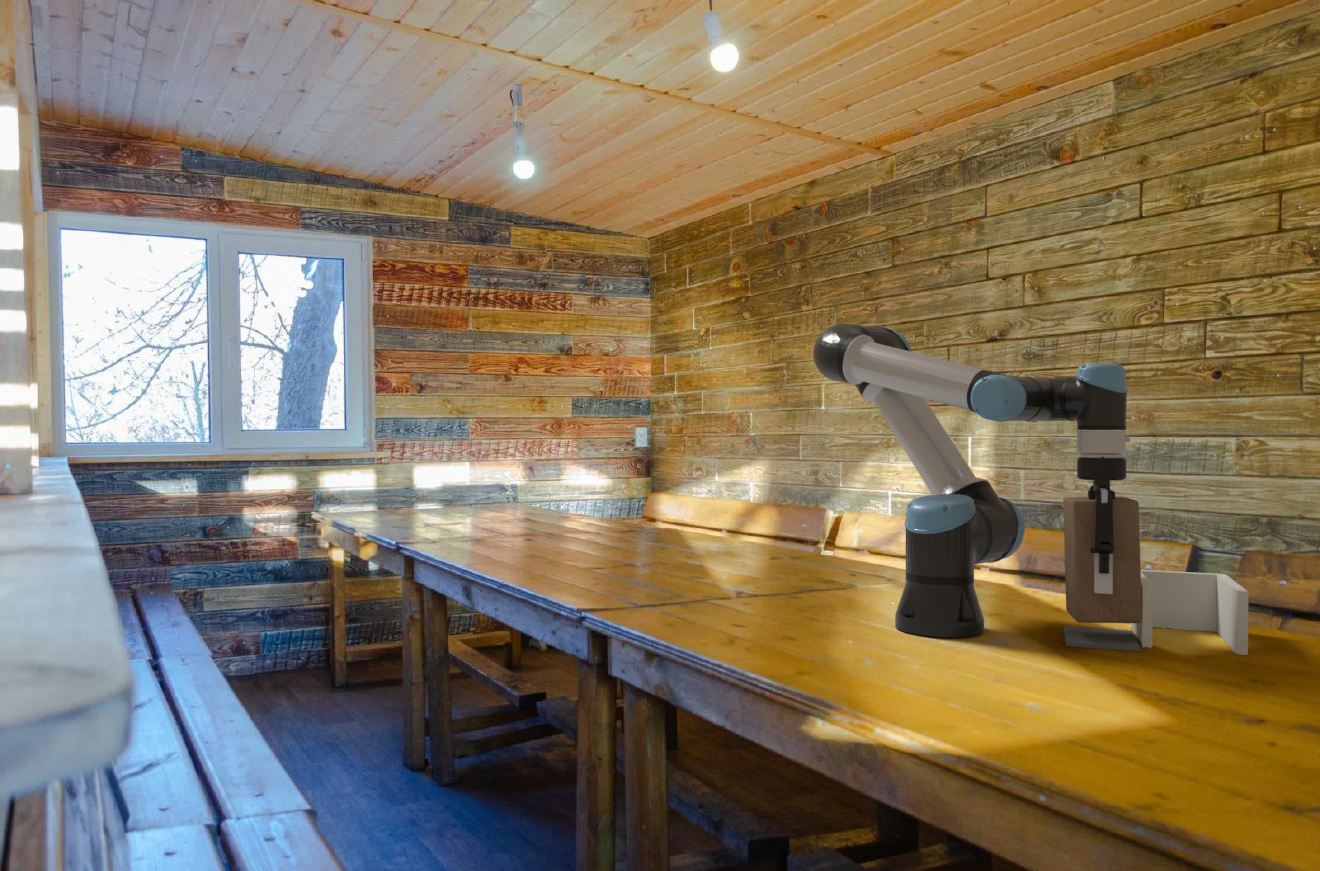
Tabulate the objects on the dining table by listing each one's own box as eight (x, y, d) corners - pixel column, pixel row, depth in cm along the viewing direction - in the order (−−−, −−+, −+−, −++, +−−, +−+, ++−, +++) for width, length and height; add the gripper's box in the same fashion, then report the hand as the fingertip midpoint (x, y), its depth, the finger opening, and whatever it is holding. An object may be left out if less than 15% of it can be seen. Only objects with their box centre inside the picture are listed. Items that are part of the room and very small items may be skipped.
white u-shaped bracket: (1141, 647, 159) (1142, 585, 159) (1130, 624, 177) (1130, 569, 177) (1247, 655, 154) (1248, 591, 154) (1224, 630, 172) (1225, 574, 172)
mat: (1066, 645, 160) (1066, 642, 160) (1063, 629, 173) (1063, 625, 173) (1140, 651, 156) (1140, 647, 156) (1132, 634, 169) (1132, 630, 169)
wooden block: (1142, 623, 158) (1139, 500, 158) (1076, 623, 161) (1073, 501, 161) (1127, 612, 168) (1124, 496, 168) (1065, 611, 170) (1062, 496, 170)
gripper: (1133, 458, 152) (1132, 600, 152) (1120, 454, 174) (1119, 579, 174) (1080, 457, 155) (1080, 597, 155) (1074, 454, 176) (1073, 576, 176)
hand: (1100, 587), depth 164 cm, fingers closed on wooden block, 10 cm apart
